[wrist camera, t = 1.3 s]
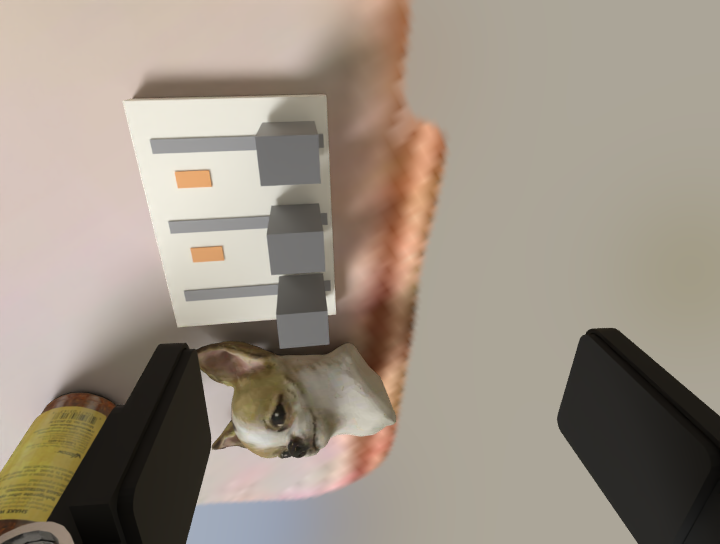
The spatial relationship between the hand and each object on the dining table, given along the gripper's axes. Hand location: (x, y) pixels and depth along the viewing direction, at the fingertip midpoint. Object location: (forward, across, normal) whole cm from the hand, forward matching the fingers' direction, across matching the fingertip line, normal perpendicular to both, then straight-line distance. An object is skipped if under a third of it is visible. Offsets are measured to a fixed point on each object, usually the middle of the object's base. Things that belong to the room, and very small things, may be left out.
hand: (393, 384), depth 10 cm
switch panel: (+20, +6, +2) cm, 21 cm away
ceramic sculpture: (+21, +4, +16) cm, 27 cm away
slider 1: (+19, +3, -3) cm, 19 cm away
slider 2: (+19, +3, +2) cm, 19 cm away
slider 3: (+19, +3, +7) cm, 21 cm away
